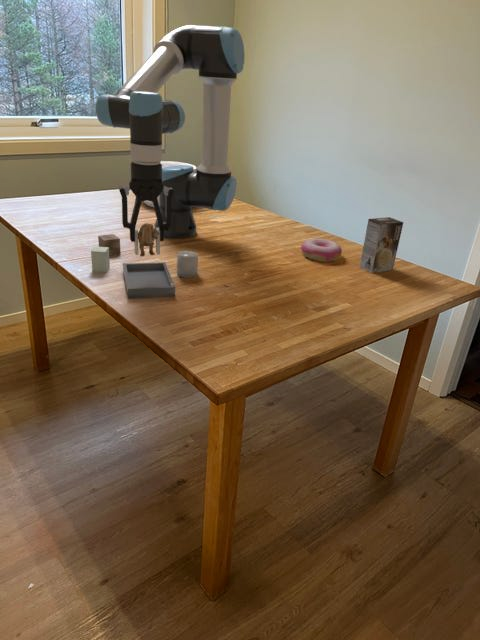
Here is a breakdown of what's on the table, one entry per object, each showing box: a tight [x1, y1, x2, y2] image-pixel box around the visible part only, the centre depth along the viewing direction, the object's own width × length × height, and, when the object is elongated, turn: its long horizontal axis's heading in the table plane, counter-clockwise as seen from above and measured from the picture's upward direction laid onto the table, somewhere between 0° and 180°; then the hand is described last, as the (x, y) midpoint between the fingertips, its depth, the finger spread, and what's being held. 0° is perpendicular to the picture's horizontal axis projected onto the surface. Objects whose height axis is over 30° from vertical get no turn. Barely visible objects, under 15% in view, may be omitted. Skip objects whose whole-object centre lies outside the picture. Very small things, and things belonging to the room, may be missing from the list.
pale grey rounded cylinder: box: [176, 250, 199, 279], centre depth 138 cm, size 6×6×6 cm
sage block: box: [90, 245, 111, 273], centre depth 137 cm, size 4×4×6 cm
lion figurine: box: [138, 222, 160, 257], centre depth 127 cm, size 15×5×9 cm, turn 18°
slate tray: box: [122, 261, 176, 299], centre depth 130 cm, size 12×18×3 cm, turn 16°
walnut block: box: [97, 233, 122, 256], centre depth 149 cm, size 5×5×5 cm
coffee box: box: [359, 217, 404, 274], centre depth 152 cm, size 9×6×16 cm
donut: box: [300, 238, 343, 263], centre depth 161 cm, size 14×13×5 cm
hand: (147, 252), depth 127 cm, fingers closed on lion figurine, 5 cm apart
